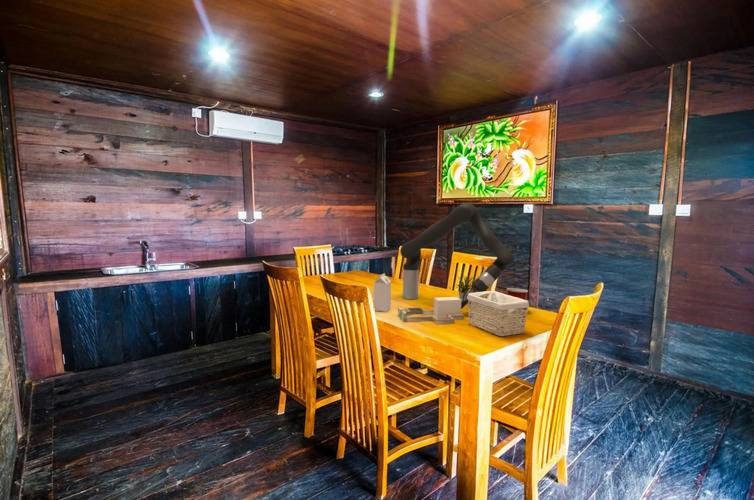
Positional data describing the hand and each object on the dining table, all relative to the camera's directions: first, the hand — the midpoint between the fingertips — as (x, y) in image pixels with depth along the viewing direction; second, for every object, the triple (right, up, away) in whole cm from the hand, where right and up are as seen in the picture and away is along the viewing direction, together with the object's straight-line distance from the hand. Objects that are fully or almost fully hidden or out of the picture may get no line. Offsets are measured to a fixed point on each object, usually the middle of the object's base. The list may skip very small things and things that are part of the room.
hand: (459, 307), depth 195 cm
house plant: (+10, -1, +28) cm, 29 cm away
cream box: (-7, -4, -1) cm, 8 cm away
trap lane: (-15, -4, -2) cm, 16 cm away
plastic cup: (+32, -4, +9) cm, 33 cm away
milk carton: (-39, -3, +11) cm, 40 cm away
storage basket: (+12, -7, -19) cm, 24 cm away
